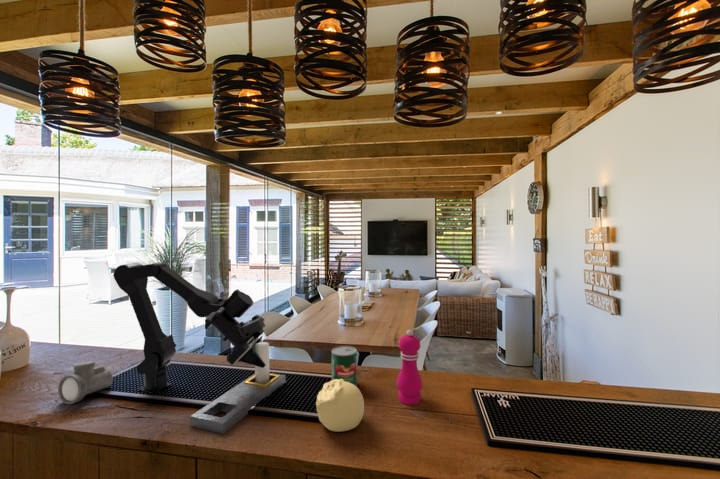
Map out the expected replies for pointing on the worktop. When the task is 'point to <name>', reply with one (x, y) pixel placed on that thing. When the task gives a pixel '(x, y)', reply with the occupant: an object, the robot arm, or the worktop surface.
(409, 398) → the pepper mill
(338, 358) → the canned tomato
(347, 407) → the sculpture
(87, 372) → the grey flashlight
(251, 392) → the grey board with holes
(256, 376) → the peg
